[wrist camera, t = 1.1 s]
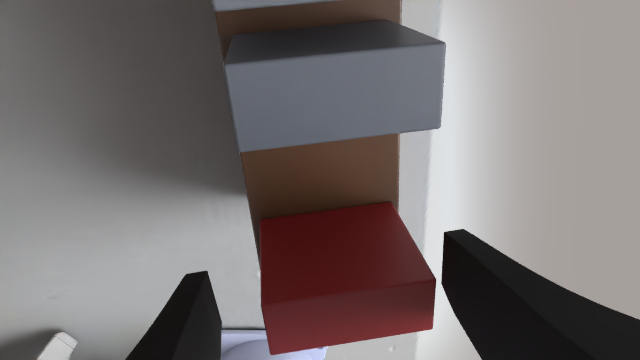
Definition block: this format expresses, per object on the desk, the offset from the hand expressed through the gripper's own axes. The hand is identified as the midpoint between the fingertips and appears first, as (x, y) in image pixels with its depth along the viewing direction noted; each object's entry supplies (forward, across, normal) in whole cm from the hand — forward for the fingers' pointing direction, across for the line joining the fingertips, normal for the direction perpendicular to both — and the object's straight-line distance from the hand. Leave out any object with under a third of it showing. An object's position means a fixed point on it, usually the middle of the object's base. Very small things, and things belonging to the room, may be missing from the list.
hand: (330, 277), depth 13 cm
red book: (+3, 0, +1) cm, 4 cm away
